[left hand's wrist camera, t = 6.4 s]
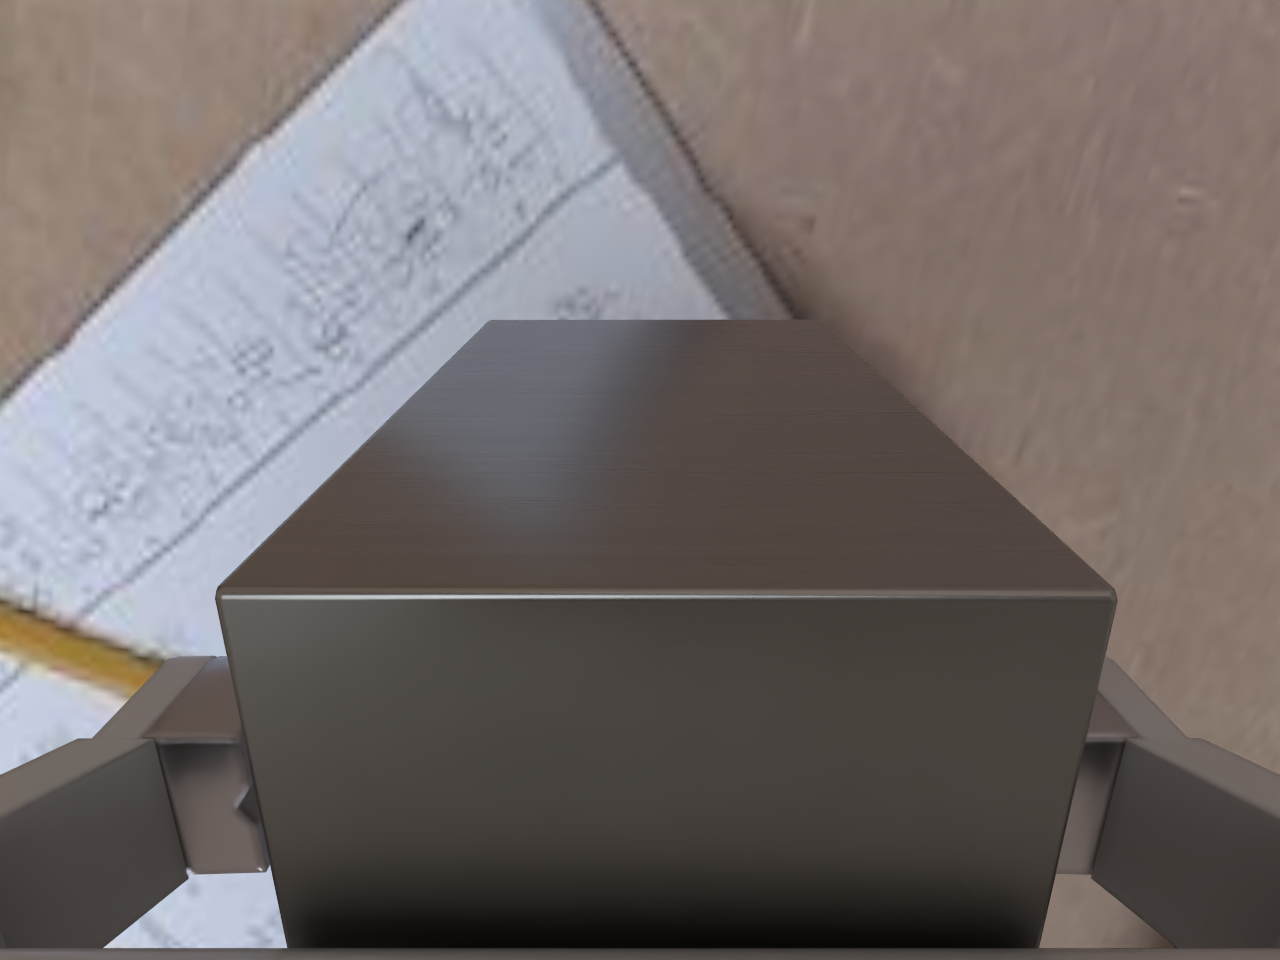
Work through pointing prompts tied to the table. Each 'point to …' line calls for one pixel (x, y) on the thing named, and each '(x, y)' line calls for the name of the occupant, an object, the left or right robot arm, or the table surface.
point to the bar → (663, 660)
